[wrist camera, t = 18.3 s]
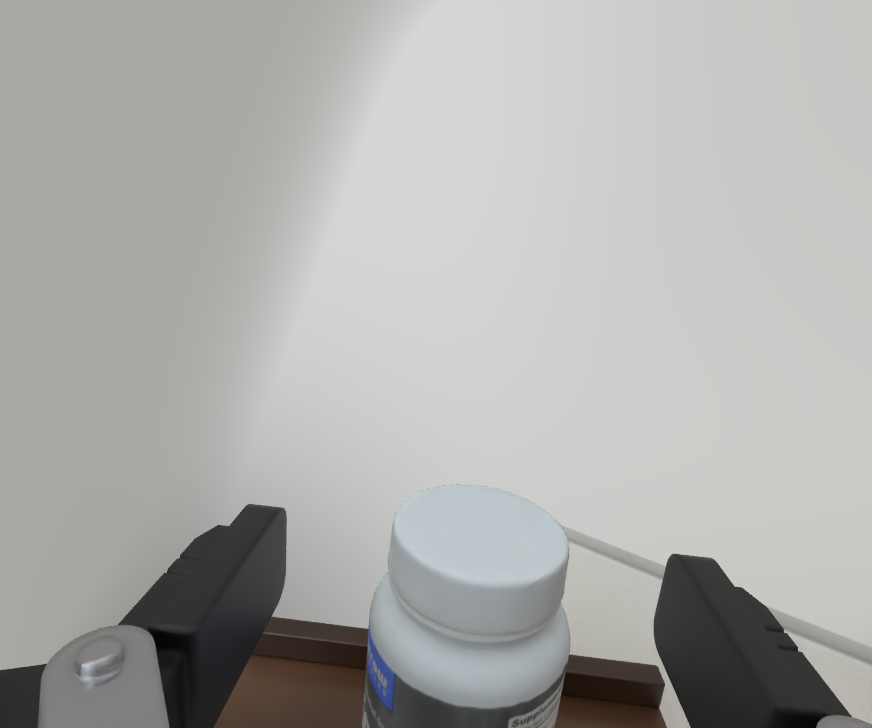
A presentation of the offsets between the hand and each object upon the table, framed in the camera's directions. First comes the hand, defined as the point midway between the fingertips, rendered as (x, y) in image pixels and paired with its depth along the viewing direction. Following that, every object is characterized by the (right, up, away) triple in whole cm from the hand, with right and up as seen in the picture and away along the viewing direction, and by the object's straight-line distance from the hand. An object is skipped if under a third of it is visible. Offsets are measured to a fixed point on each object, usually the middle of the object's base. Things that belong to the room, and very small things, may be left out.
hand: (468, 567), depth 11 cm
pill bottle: (0, -8, +3) cm, 8 cm away
